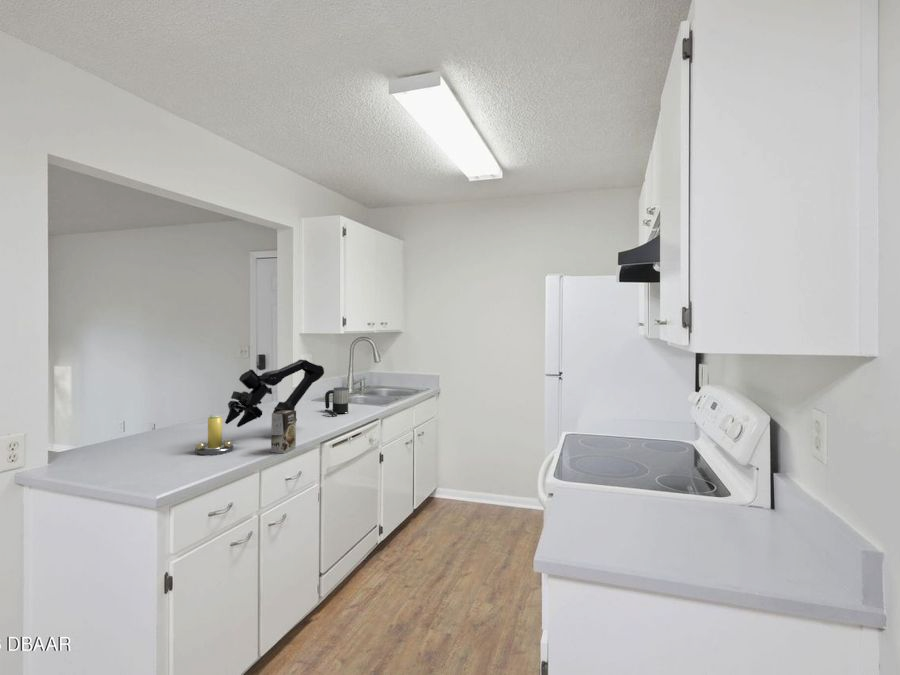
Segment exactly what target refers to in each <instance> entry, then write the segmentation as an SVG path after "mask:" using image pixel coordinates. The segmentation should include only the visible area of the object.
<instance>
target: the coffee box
mask: <svg viewBox="0 0 900 675" xmlns="http://www.w3.org/2000/svg"><path fill="white" fill-rule="evenodd" d="M296 419H297V410H296V409H294V410H282V411H278V412H275V413H273V412H272V413H271V427H270V428H271V429H270V430H271V435H270V440H271V441H270V442H271V443H270V444H271V445H270V453H274V452H275V453H277V454H286V453H288V452H290V451H292V450H295V449H296V448H297V447H296V446H297V445H296V444H297V438H296V436H297V421H296Z"/></svg>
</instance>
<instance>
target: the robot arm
mask: <svg viewBox="0 0 900 675" xmlns="http://www.w3.org/2000/svg"><path fill="white" fill-rule="evenodd" d="M300 371H302V372H304V373H303V374H304V375H303V378H302V379H301V381H300V382H299V383H298V384H297V386H296V387H295V388H294V390H293V391H292V392H291V393H290V395H289V396H288V398H287V399H286V400H285V401H279V402H278V403H277V405H276V406H275V407H274V408H273V411H272V413H275V412H278V411H282V410H296V406H297V404H298V403H299V402H300V401H301V399H302V398H303V396H304V395H305V394H306V393H307V391H308V390H309V389H310V387H311V386H312V384H313V383H315V382H317V381H319V379H321V378H322V377H323V376H324V374H325V368H324V367H323V365H318V364H315V363H312V362H311V361H309V360H307V359H298V360H297V361H295V362H292V363H290V364H288V365H286V366H283V367H282V368H280V369H275V370H274V369H273V370H269V371H265V372H263V373H262V374H260V375H258V374H257V373H256V372H255V370H254V369H249V370H247V371H245V372H244V373H242V374H241V375H240V377H239V379H238V381H240V383H242V385H244V387H245V388H247V389H248V390H250V392H249V391H248V392H247V391H241V392H240V391H237V390H236V391H234V390H233V391H232V392H233V393H232V395H231V397H230V399H232V400H230V401H229V402H228V403H227V406H228V410H229V412H228V414H227V416H226V419H225V421H224V423H225V425H227V424H229V423H230V424H231V423H232V422H233V421H234V420H235V419H236V418H238V417H239V416H240V415H241V414H242V413H243V415H242V417H241V418H240V419H239V421H238V422H237V424H236V427H237V428H240V427H242V426H243V425H245V424H247V423H250V422H252V421H255V420H257V419H258V418H259V419H260V418H261V417H262V416H263V410H262V409H260V408H259V407H258V405H261V404H262V400H263V398H265V396H266V394H269V395H272V394H273V391H272V390H273V389H272V387H274V386H277V385H278V384H280V383H281V382H282V381H283V379H285V378H286V377H289V376H291V375H293V374H295V373H297V372H300ZM268 386H272V387H268ZM297 421H298V419H297V418H296V422H297Z"/></svg>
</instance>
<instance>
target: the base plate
mask: <svg viewBox="0 0 900 675" xmlns="http://www.w3.org/2000/svg"><path fill="white" fill-rule="evenodd" d="M232 450H233V451H234V444H233V443H232V442H231V441H229V440H227V441H224V442H222V447H220V448H214V449H211V448H208V443H203V442H200V443H197V444H196V447H195V449H194V453H195V454H196V453H197V454H200V455H199V456H204V455H210V456H218V455H217V454H220V455H224V454H223V453H225V454H228V453H227V452H229V453H231V452H233V451H232ZM230 451H231V452H230ZM197 454H196V455H197Z"/></svg>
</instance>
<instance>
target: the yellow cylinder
mask: <svg viewBox="0 0 900 675" xmlns="http://www.w3.org/2000/svg"><path fill="white" fill-rule="evenodd" d="M222 443H223V417H222V416H221V415H220V414H212V415H209V417H207V444H208V448H211V449H214V448H220V447H222Z"/></svg>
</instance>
